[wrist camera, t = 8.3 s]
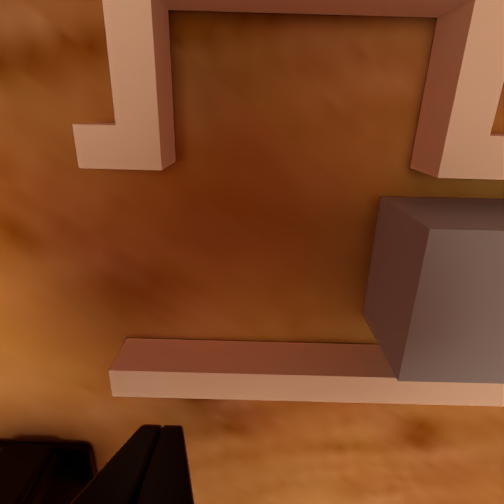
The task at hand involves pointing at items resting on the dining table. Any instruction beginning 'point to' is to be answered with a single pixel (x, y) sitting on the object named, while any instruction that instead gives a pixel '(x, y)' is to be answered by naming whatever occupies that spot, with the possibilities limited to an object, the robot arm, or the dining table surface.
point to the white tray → (423, 159)
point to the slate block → (439, 288)
